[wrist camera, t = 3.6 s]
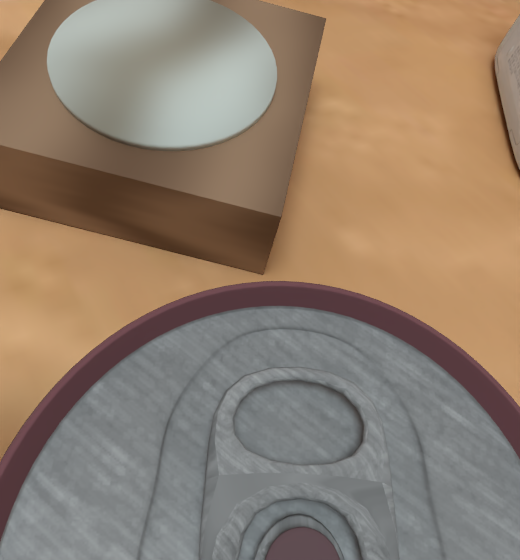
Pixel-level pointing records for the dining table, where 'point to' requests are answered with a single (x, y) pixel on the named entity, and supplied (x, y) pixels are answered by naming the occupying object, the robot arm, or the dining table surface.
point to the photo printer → (510, 83)
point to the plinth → (158, 120)
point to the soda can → (268, 439)
